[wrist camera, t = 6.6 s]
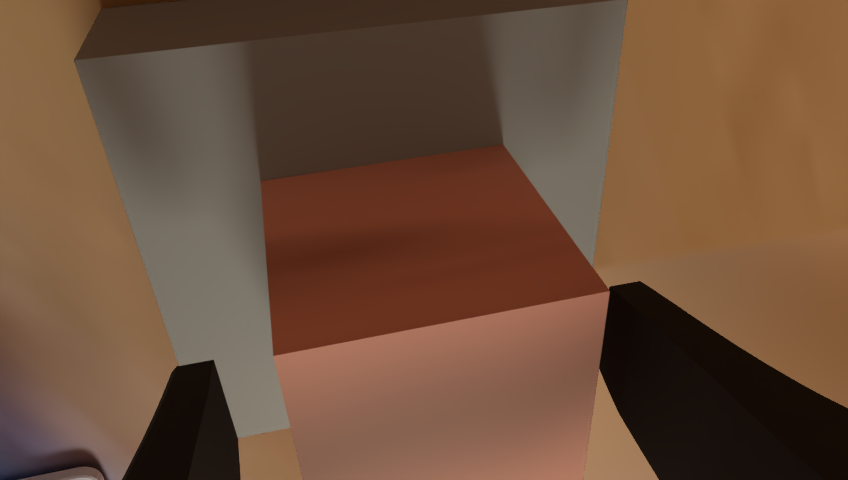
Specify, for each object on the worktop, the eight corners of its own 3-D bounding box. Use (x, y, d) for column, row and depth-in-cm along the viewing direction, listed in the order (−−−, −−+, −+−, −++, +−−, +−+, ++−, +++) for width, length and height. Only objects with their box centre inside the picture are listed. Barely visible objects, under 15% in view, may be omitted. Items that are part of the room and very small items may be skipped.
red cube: (499, 324, 17) (581, 493, 13) (298, 362, 16) (321, 556, 12) (503, 144, 14) (609, 290, 10) (260, 181, 13) (273, 355, 9)
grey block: (534, 291, 22) (579, 369, 19) (210, 349, 20) (206, 444, 17) (558, -43, 16) (627, -2, 13) (104, 1, 14) (74, 60, 12)
